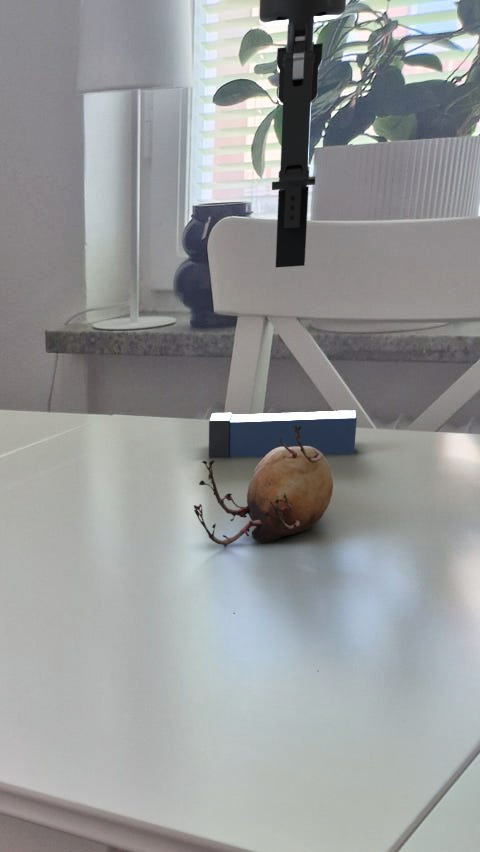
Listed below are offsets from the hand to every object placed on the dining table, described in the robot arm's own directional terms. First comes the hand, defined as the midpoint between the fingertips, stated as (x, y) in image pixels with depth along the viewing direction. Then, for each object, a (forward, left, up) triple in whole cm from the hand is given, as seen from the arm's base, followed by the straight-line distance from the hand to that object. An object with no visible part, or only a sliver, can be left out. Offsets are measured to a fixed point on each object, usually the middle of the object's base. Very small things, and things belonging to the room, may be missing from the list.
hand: (290, 263), depth 114 cm
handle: (0, +7, -17) cm, 18 cm away
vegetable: (+1, +32, -17) cm, 36 cm away
